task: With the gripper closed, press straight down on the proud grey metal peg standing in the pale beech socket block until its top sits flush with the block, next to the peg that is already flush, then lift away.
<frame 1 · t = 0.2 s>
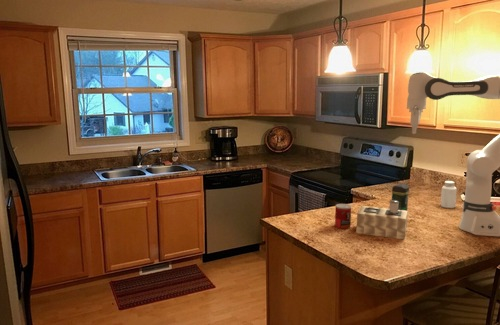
hand: (414, 132, 208), 47 cm above the counter, fingers open, 8 cm apart
canned food: (342, 227, 209), on the counter
coffee jar: (398, 217, 224), on the counter
pill bottle: (447, 206, 244), on the counter
peg: (393, 211, 198), point 11 cm above the counter, slide at 0.0 cm
socket block: (381, 231, 202), on the counter
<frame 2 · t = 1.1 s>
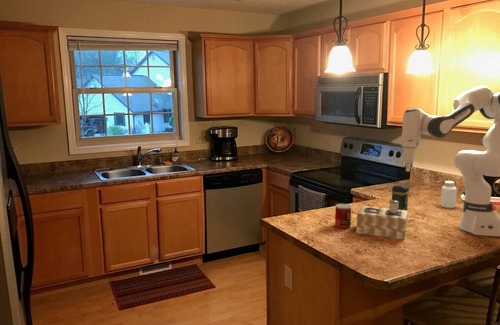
hand: (408, 169, 204), 30 cm above the counter, fingers open, 8 cm apart
nothing on the counter moved.
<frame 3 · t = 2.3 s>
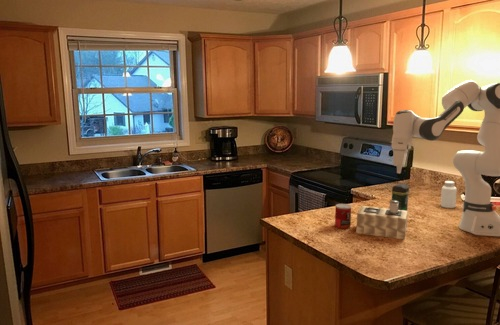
hand: (398, 173, 198), 29 cm above the counter, fingers closed
nothing on the counter moved.
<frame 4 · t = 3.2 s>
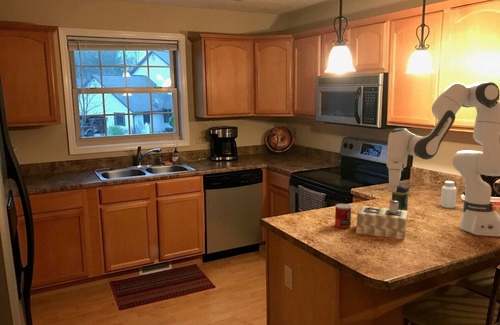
hand: (394, 191, 196), 21 cm above the counter, fingers closed
nothing on the counter moved.
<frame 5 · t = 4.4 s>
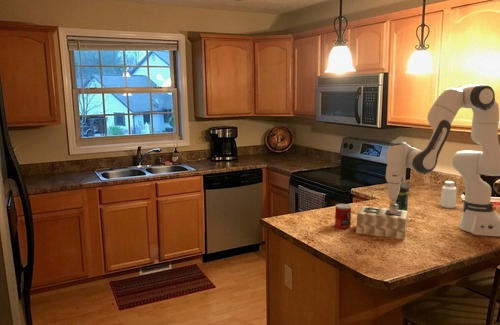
hand: (393, 204, 197), 15 cm above the counter, fingers closed, pressing on peg
peg: (393, 214, 198), point 9 cm above the counter, slide at 1.5 cm, touching gripper
everything else where it was.
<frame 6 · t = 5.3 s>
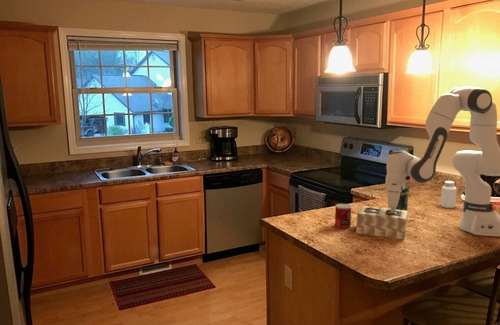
hand: (393, 212, 198), 11 cm above the counter, fingers closed, pressing on peg
peg: (392, 222, 199), point 6 cm above the counter, slide at 5.5 cm, touching gripper
everything else where it was.
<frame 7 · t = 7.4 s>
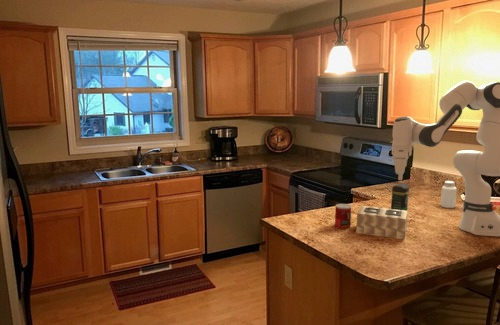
hand: (400, 179, 199), 26 cm above the counter, fingers closed
peg: (392, 222, 199), point 5 cm above the counter, slide at 5.6 cm
everything else where it was.
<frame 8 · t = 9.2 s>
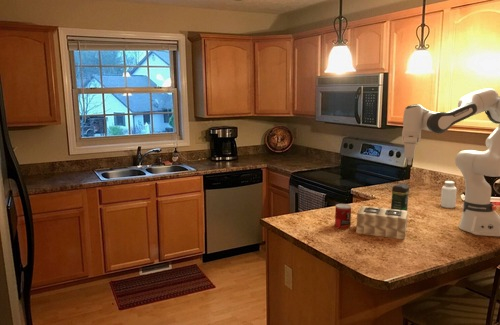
hand: (409, 164, 208), 31 cm above the counter, fingers closed
nothing on the counter moved.
at the end: peg slide at 5.6 cm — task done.
